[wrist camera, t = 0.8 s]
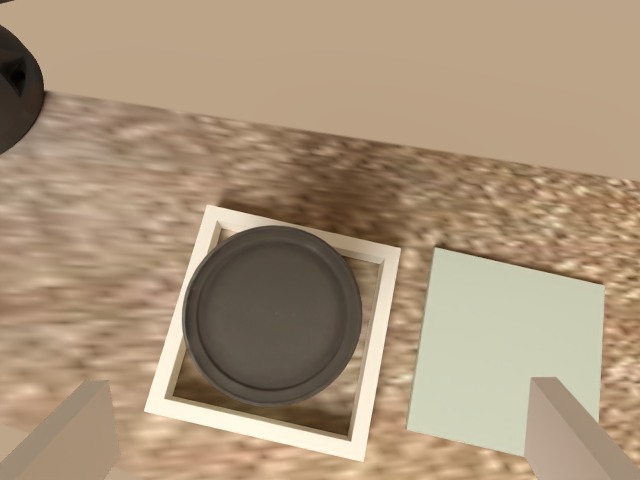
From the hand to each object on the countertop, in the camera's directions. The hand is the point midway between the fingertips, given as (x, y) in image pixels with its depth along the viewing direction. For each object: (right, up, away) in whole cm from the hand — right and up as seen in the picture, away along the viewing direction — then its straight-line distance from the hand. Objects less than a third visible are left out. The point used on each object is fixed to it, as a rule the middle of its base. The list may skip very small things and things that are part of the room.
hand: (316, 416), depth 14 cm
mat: (+17, -5, +25) cm, 31 cm away
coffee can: (-3, -2, +25) cm, 25 cm away
